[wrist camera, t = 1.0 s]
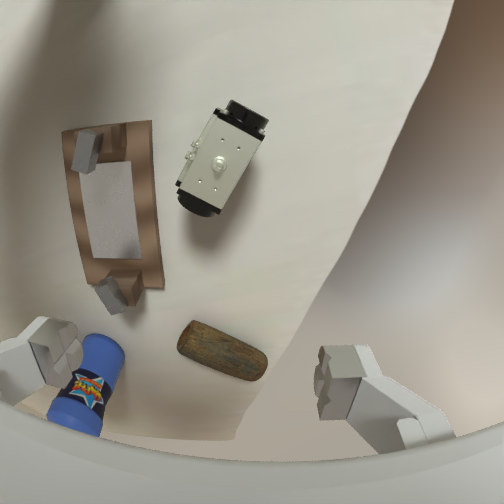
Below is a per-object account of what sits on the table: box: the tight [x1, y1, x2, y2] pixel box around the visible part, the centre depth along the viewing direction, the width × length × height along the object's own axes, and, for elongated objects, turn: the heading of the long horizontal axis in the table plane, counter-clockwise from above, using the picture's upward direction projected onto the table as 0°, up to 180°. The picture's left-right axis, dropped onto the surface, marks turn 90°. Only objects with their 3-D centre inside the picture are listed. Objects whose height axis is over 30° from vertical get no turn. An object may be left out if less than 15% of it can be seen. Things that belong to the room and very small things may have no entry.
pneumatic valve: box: [175, 100, 269, 217], centre depth 32 cm, size 6×12×12 cm, turn 150°
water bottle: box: [47, 334, 125, 437], centre depth 43 cm, size 9×9×25 cm
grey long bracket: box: [71, 129, 142, 315], centre depth 36 cm, size 24×8×7 cm, turn 178°
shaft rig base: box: [62, 120, 165, 306], centre depth 38 cm, size 24×13×6 cm, turn 178°
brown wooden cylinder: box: [177, 320, 268, 381], centre depth 49 cm, size 15×7×7 cm, turn 59°
